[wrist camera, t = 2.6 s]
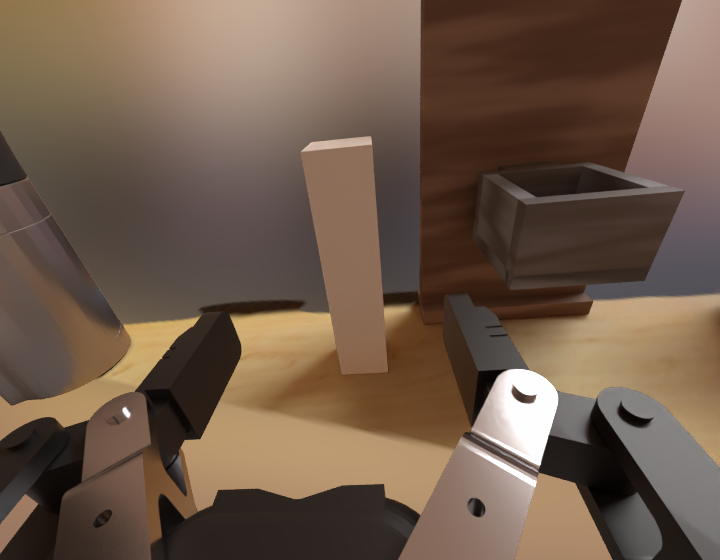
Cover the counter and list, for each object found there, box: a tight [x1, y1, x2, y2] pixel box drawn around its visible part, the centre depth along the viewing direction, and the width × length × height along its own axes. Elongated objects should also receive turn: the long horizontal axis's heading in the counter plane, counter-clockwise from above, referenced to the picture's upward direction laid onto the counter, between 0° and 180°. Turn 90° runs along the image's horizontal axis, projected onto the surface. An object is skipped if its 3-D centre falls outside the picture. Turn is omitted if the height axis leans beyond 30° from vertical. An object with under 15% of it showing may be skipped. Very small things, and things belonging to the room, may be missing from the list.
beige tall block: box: [301, 136, 388, 375], centre depth 23 cm, size 4×4×18 cm
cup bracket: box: [418, 0, 685, 324], centre depth 22 cm, size 12×16×26 cm
